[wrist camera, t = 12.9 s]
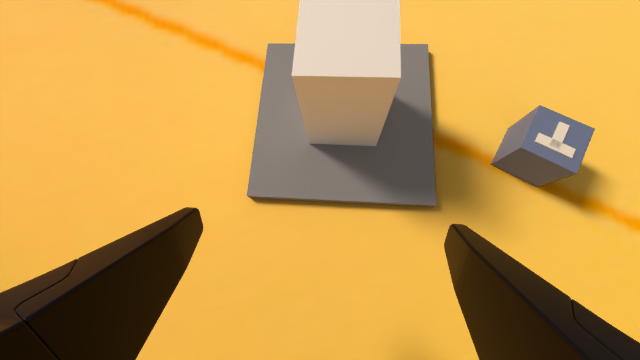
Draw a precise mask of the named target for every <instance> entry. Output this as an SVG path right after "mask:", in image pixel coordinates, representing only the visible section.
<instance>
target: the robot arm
mask: <svg viewBox="0 0 640 360" xmlns="http://www.w3.org/2000/svg"><path fill="white" fill-rule="evenodd" d="M202 232H203V223H202V220H201V216H200V212H199V210H198V209H197V208H190V207H186V208H184V209H181V210H179V211H177V212H175V213H173V214H171V215H169V216H167V217H164V218H162V219H160V220H158V221H156V222H154V223H152V224H150V225H148V226H145V227H143V228H141V229H139V230H137V231H135V232H133V233H131V234H128V235H126V236H124V237H122V238H120V239H118V240H116V241H114V242H111V243H109V244H107V245H105V246H103V247H101V248H99V249H97V250H95V251H92V252H90V253H88V254H86V255H84V256H82V257H80V258H79V259H75V260H73V261H71V262H69V263H67V264H65V265H63V266H60V267H58V268H56V269H54V270H52V271H49V272H47V273H45V274H43V275H41V276H38V277H36V278H34V279H32V280H29V281H27V282H25V283H22V284H20V285H18V286H15V287H13V288H11V289H8V290H6V291H3V292H1V293H0V360H135V359H136V358H137V356H138V354H139V352H140V351H141V349H142V347H143V345H144V343H145V342H146V340H147V338H148V336H149V335H150V333H151V331H152V329H153V327H154V326H155V324H156V322H157V320H158V319H159V317H160V315H161V313H162V311H163V310H164V308H165V306H166V304H167V303H168V301H169V299H170V297H171V295H172V294H173V292H174V290H175V288H176V287H177V285H178V283H179V281H180V279H181V278H182V276H183V274H184V272H185V270H186V268H187V266H188V264H189V262H190V260H191V257H192V255H193V253H194V250H195V248H196V246H197V243H198V241H199V239H200V236H201V234H202ZM444 248H445V253H446V257H447V261H448V266H449V270H450V274H451V278H452V283H453V286H454V290H455V293H456V296H457V299H458V302H459V304H460V307H461V310H462V313H463V316H464V318H465V321H466V324H467V327H468V329H469V332H470V335H471V338H472V341H473V343H474V346H475V349H476V352H477V354H478V357H479V360H640V343H639V342H637V341H636V340H634V339H633V338H631V337H629V336H628V335H626V334H625V333H623V332H621V331H620V330H618V329H617V328H615V327H613V326H612V325H610V324H609V323H607V322H606V321H604V320H603V319H601V318H600V317H598V316H597V315H595V314H594V313H592V312H591V311H589V310H588V309H587V308H585V307H584V306H582V305H581V304H579V303H578V302H576V301H575V300H573V299H572V300H571V298H570V297H569V296H568V295H566V294H565V293H563V292H562V291H560V290H559V289H557V288H556V287H554V286H553V285H551V284H550V283H549V282H547V281H546V280H544V279H543V278H541V277H540V276H538V275H537V274H535V273H534V272H532V271H531V270H530V269H528V268H527V267H525V266H524V265H522V264H521V263H519V262H518V261H516V260H515V259H514V258H512V257H511V256H509V255H508V254H506V253H505V252H503V251H502V250H500V249H499V248H497V247H496V246H495V245H493V244H492V243H490V242H489V241H487V240H486V239H484V238H483V237H481V236H480V235H478V234H477V233H476V232H474V231H473V230H471V229H470V228H468V227H467V226H465V225H462V224H452V225H450V227H449V230H448V233H447V236H446V239H445V243H444Z"/></svg>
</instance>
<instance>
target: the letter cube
mask: <svg viewBox="0 0 640 360" xmlns="http://www.w3.org/2000/svg"><path fill="white" fill-rule="evenodd" d="M594 130H595V129H594V128H592V127H589V126H587V125H585V124H582V123H580V122H578V121H575V120H573V119H571V118H568V117H566V116H564V115H562V114H559V113H557V112H555V111H552V110H550V109H548V108H545V107H543V106H541V105H540V106H538V107H537V108H536V109H534V110H533V111H531V112H530V113H529V114H527V115H526V116H525V117H523V118H522V119H520V120H519V121H518V122H516V123H515V124H514V125H512V126H511V127H510V128H508V130H507V132H506V134H505V136H504V138H503V140H502V142H501V144H500V147H499V149H498V151H497V153H496V155H495V157H494V159H493V161H492V163H491V165H493V166H495V167H497V168H499V169H501V170H503V171H505V172H507V173H509V174H511V175H513V176H515V177H517V178H519V179H521V180H523V181H525V182H527V183H530V184H532V185H534V186H536V187H538V186H541V185H544V184H547V183H550V182H553V181H556V180H559V179H562V178H565V177H568V176H571V175H574V174H577V172H578V170H579V167H580V165H581V162H582V160H583V157H584V155H585V152H586V150H587V147H588V145H589V142H590V140H591V137H592V135H593V132H594Z"/></svg>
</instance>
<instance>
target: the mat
mask: <svg viewBox="0 0 640 360" xmlns="http://www.w3.org/2000/svg"><path fill="white" fill-rule="evenodd" d="M294 49H295V44H268V47H267V55H266V62H265V69H264V76H263V83H262V91H261V98H260V105H259V112H258V120H257V127H256V134H255V141H254V148H253V156H252V163H251V170H250V177H249V184H248V192H247V196H248V197H250V198H266V199H286V200H306V201H326V202H346V203H365V204H385V205H405V206H425V207H434V206H436V205H437V201H436V183H435V165H434V147H433V129H432V110H431V92H430V74H429V56H428V44H400V50H401V79H400V82H399V84H398V87H397V90H396V93H395V95H394V98H393V101H392V104H391V106H390V109H389V112H388V115H387V117H386V120H385V123H384V126H383V128H382V131H381V134H380V137H379V139H378V142H377V145H376V146H357V145H331V144H309V142H308V138H307V134H306V130H305V126H304V123H303V119H302V115H301V111H300V107H299V103H298V99H297V95H296V91H295V87H294V83H293V79H292V67H293V58H294Z"/></svg>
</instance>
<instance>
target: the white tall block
mask: <svg viewBox="0 0 640 360" xmlns="http://www.w3.org/2000/svg"><path fill="white" fill-rule="evenodd" d="M292 79H293V83H294V87H295V91H296V95H297V99H298V103H299V107H300V111H301V115H302V119H303V123H304V126H305V130H306V134H307V138H308V142H309V144H331V145H357V146H376V145H377V142H378V139H379V137H380V134H381V131H382V128H383V126H384V123H385V120H386V117H387V115H388V112H389V109H390V106H391V104H392V101H393V98H394V95H395V93H396V90H397V87H398V84H399V82H400V79H401V50H400V0H300V4H299V13H298V22H297V31H296V40H295V49H294V58H293V67H292Z"/></svg>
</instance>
